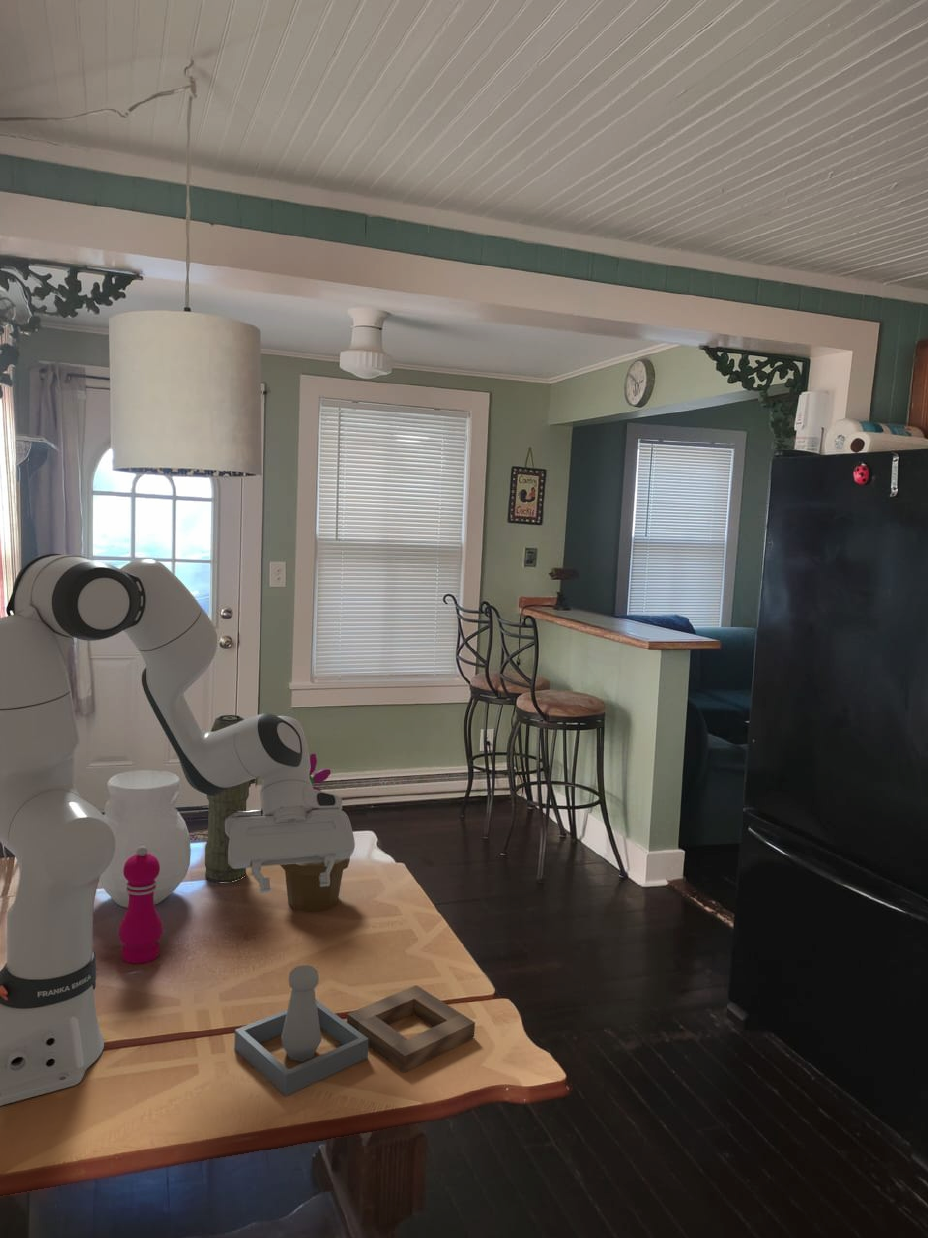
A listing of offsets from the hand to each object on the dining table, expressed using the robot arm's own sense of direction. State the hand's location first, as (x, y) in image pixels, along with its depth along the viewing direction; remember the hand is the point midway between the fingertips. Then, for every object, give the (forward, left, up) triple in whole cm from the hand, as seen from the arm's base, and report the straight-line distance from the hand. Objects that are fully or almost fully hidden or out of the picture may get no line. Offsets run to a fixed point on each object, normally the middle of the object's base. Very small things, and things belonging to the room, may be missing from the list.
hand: (295, 888), depth 142 cm
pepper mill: (-12, +31, -20) cm, 39 cm away
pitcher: (-2, +53, -20) cm, 57 cm away
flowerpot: (+25, +32, -20) cm, 45 cm away
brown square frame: (+10, -17, -20) cm, 29 cm away
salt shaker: (-6, -11, -20) cm, 24 cm away
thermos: (+17, +54, -20) cm, 60 cm away
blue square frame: (-6, -11, -20) cm, 24 cm away
